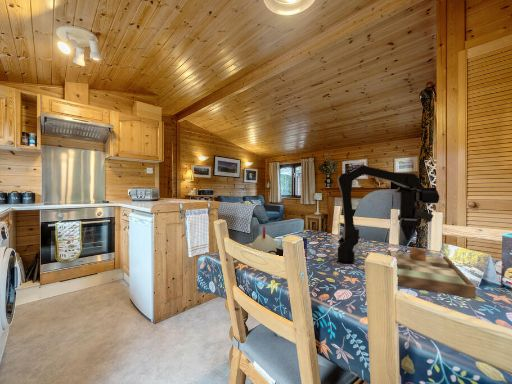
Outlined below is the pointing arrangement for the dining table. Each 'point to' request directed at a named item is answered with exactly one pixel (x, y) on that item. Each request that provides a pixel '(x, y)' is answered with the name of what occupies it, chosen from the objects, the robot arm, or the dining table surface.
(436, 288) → the wooden tray
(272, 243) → the beige cone with rod
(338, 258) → the robot arm
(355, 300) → the dining table surface
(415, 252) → the block
